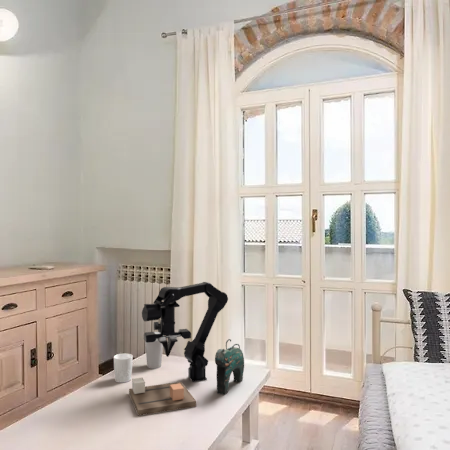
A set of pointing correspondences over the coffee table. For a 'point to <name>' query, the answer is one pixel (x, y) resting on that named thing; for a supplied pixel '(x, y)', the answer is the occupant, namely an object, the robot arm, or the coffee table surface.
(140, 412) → the fader panel
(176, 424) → the coffee table surface
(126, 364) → the white cup
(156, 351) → the coffee cup
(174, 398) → the block
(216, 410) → the coffee table surface
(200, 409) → the coffee table surface
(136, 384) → the block
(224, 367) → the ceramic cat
